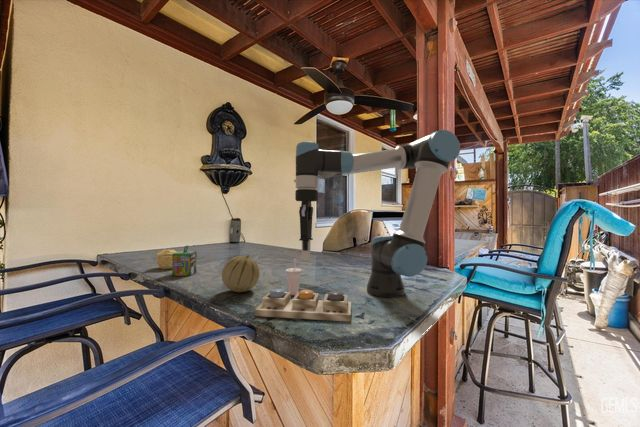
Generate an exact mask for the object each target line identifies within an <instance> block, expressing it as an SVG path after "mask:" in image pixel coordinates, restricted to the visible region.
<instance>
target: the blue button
mask: <svg viewBox="0 0 640 427" xmlns="http://www.w3.org/2000/svg"><path fill="white" fill-rule="evenodd" d="M269 292H270V298H283V297H284V292H285V290H284V289H283V288H272V289H270V290H269Z"/></svg>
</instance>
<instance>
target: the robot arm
mask: <svg viewBox="0 0 640 427" xmlns="http://www.w3.org/2000/svg"><path fill="white" fill-rule="evenodd" d="M460 153H461V143H460V141H459V139H458V137H457V136H456V135H455V133H453V132H452V131H450V130H448V129H440V130H435V131H433V132H431V133H430V134H427V135H425V136H423V137H420V138H418V139H416V140H414V141H412V142H409V143H407V144H403V145H397V146H396V147H395V148H392V149H385V150H378V151H368V152H363V153H352V152H351V151H345V150H327V149H320V148H319V144H318V143H317V142H313V141H301V142H299V143H297V144H296V150H295V179H293V181H294V183H295V189H296V190H295V194H294V196H295V197H294V198H295V201H297V202H301V204H300V205H301V206H299V211H298V214H299V225H300V226H299V229H300V238H299V239H298V241H301V261H311V241H313V240H314V239H313V237H312V232H313V231H312V230H313V229H312V228H313V215H314V214H313V213H314V207H313V206H312V202H318V200H319V190H317V189H319V178H320V179H330V178H333V177H339V176H345V175H353V174H359V173H367V172H373V171H382V170H388V169H395V168H396V169H398V170H406V169H408V170H409V169H416V173H415V175H414V180H413V183H412V186H411V189H410V192H409V196H408V199H407V203H406V207H405V209H404V212H403V216H402V219H401V222H400V225H399V229H398V230H397V231H395V232H393V233H392V234H393V235H392V236H391V235H389V236H387V235H386V236H373V238H372V239H371V244H370V246H371V250H370V251H371V254H370V255H371V266H370V267H371V269H370V270H371V273H370V275H369V278H368V281H367V284H366V285H367V286H366V291H367V293H369V294H371V295H373V296H376V297H380V298H400V297H402V296H404V295H405V293H406V291H405V289H406V288H405V284H404V281H403V279H402V276H404V277H408V278H411V277H415V276H417V275H419V274H421V273H423V270H424V269H425V268H426V266H427V263H428V255H427V251H426V250H425V246H426V240H425V239H424V233H425V231H426V227H427V225H428V221H429V217H430V213H431V210H432V207H433V204H434V201H435V197H436V193H437V190H438V186H439V184H440V180H441V177H442V175H444V174H445V173H447V172H448V169H449V167H450V162H453V161H454V160H456V159H457V158H458V157H459V155H460Z"/></svg>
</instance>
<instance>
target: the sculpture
mask: <svg viewBox="0 0 640 427" xmlns="http://www.w3.org/2000/svg"><path fill="white" fill-rule="evenodd" d="M176 252H178V251H176V250H175V249H162V250H161V251H159V252H157V253H156V259H155V260H156V265H157V267H158V268H160V269H161V270H172V254H174V253H176Z"/></svg>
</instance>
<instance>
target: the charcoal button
mask: <svg viewBox="0 0 640 427" xmlns="http://www.w3.org/2000/svg"><path fill="white" fill-rule="evenodd" d="M327 294H328V300H330V301H343V295H344V292H343V291H342V292H341V291H338V290H337V291H336V290H335V291H333V290H331V291H328V293H327Z"/></svg>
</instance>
